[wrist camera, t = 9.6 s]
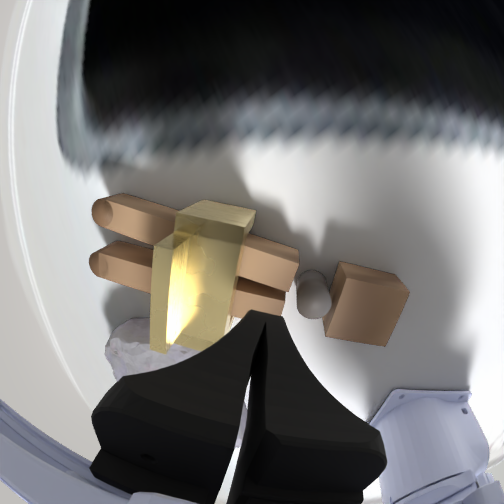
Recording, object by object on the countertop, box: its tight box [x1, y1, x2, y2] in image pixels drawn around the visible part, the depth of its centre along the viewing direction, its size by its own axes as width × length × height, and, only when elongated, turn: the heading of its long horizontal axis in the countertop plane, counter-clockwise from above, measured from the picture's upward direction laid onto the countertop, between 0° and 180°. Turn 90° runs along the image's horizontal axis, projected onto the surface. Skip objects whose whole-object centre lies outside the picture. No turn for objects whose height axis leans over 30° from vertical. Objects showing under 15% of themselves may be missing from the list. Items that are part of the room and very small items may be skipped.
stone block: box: [105, 318, 247, 449], centre depth 19 cm, size 12×5×10 cm
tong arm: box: [92, 193, 299, 292], centre depth 15 cm, size 12×2×2 cm, turn 73°
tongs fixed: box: [89, 241, 410, 347], centre depth 16 cm, size 18×4×2 cm, turn 79°
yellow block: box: [150, 200, 256, 355], centre depth 14 cm, size 3×7×6 cm, turn 169°
